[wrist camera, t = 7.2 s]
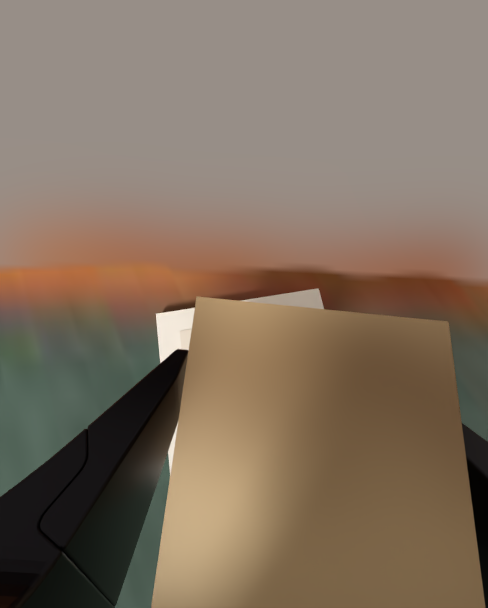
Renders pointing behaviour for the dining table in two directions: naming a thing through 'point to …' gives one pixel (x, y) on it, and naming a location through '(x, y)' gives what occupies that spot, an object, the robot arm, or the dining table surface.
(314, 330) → the oak block
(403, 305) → the dining table surface
